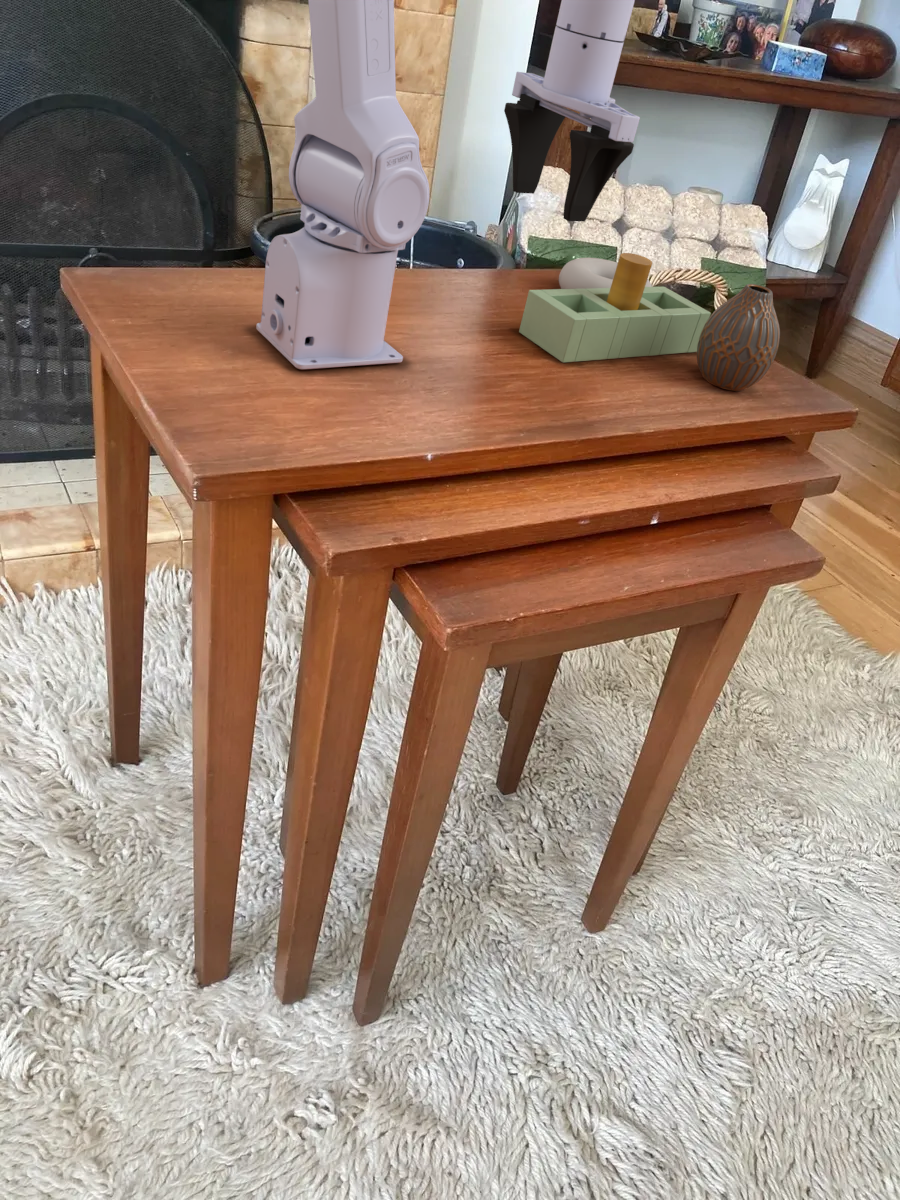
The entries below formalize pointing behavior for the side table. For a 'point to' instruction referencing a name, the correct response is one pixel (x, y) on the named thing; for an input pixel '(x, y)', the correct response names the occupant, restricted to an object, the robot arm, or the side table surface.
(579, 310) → the peg block
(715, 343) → the vase
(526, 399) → the side table surface
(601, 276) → the donut
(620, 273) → the peg
